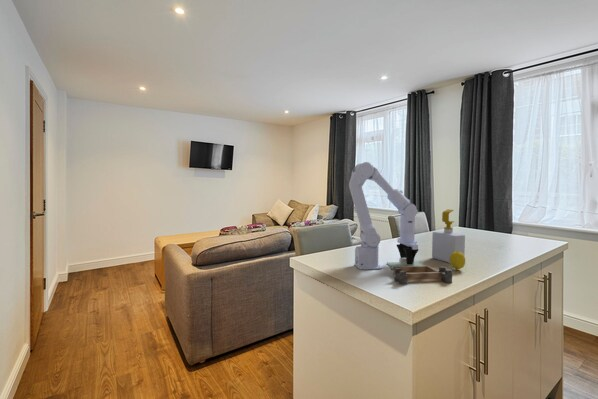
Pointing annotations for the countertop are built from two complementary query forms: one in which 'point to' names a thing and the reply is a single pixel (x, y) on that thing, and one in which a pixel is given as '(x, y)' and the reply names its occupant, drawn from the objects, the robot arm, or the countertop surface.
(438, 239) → the soap bottle
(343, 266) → the countertop surface
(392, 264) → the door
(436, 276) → the brown wooden tray
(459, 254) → the lemon
